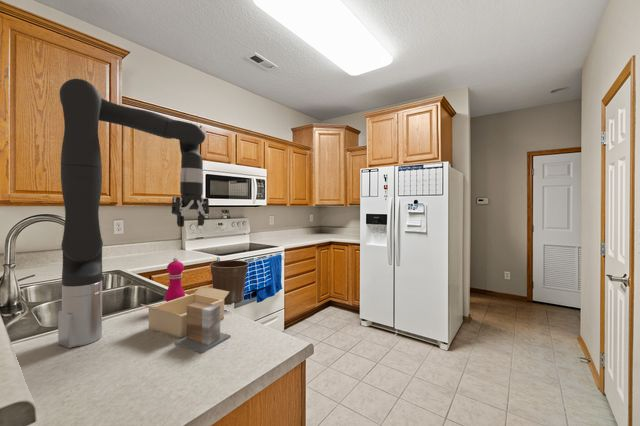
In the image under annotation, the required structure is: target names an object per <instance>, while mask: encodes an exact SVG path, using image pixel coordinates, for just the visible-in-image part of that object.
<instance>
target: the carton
mask: <svg viewBox="0 0 640 426" xmlns="http://www.w3.org/2000/svg"><path fill="white" fill-rule="evenodd" d="M228 293H229V291H224V290H219V289H213V287H206V286H203V285H202V286H201V285H200V287H199V288H198V289H196V291H195V292H194V293H191V294H188V295H185V296H184V297H181V298H178V299H174V300H171V301H168V302H166V301H165V302H162V303H159V304H156V305H150V306H149V305H146V304H143V303H140V306H143V307H145V308H148V329H149V330H152V331H153V332H158V333H161V334H164V335H167V336H169V337H174V338H176V339H178V340H180V339H183V338H185V337H186V332H187V305H190V304H192V303H195V302H198V301H200V302H205V303H210V304H214V305H219V306H220V321H222V320H224V319H225V315H224V314H225V305H224V299H225V297H226V296H227V295H228Z"/></svg>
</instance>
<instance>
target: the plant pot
mask: <svg viewBox="0 0 640 426" xmlns="http://www.w3.org/2000/svg"><path fill="white" fill-rule="evenodd" d="M208 265H209V266H210V274H211V279H212V288H213V289H219V290H224V291H229V293H228V295H227V296H226V297H225V299H224V306H232V304H234V305H235V304H236V305H237V304H239V303H242V302H243V300H244V295H245V294H244V293H245V286H246V278H247V273H248V268H249V265H250V263H249V262H248V261H246V260H245V261H243V260H236V259H235V260H234V259H232V260H231V259H229V260H227V259H226V260H217V261H212V262H211V263H209V264H208Z"/></svg>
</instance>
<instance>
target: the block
mask: <svg viewBox="0 0 640 426" xmlns="http://www.w3.org/2000/svg"><path fill="white" fill-rule="evenodd" d="M220 332H221V320H220V306H219V305H214V304H210V303H205V302H200V301H198V302H195V303H192V304H190V305H187V332H186V336H185V337H186V338H187V339H190V340H193V341H197V342H200V343H203V344H206V345H210V344H211V343H213V342H215V341H217V340H219V339H220Z"/></svg>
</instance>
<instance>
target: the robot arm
mask: <svg viewBox="0 0 640 426" xmlns="http://www.w3.org/2000/svg"><path fill="white" fill-rule="evenodd" d="M59 101H60V104H61V106H62V113H63V123H64V130H63V138H62V143H61V144H62V145H61V153H60V185H61V193H62V198H63V206H64V212H65V213H64V215H65V217H64V227H63V234H62V240H61V245H60V247H61V250H62V272H61V310H59V311H58V312H57V318H58V319H57V320H58V321H57V322H58V323H57V324H58V326H57V329H58V331H57V334H58V335H57V344H58V345H60V346H63V347H65V348H67V349H72V348H75V347H80V346H85V345H89V344H91V343H94V342H96V341H98V340H99V339H101V338H102V336H103V245H104V242H103V238H102V232H101V227H100V226H101V225H100V219H99V217H100V216H99V211H100V209H99V208H100V203H101V197H102V195H101V194H102V186H103V166H102V165H103V164H102V152H101V145H100V138H99V122H100V121H101V122H105V123H110V124H116V125H120V126H124V127H127V128H130V129H134V130H137V131H141V132H142V133H143V132H144V133H146V134H150V135H153V136H155V137H160V138H164V139H167V140H168V139H174V140H175V139H176V140H178V141H179V142H178V144H179V149H180V154H181V160H180V165H181V166H180V174H179V175H180V177H179V178H180V180H179V182H180V183H179V186H180V187H179V194H180V196H173V197H172V198H171V199H172V200H171V214H172V215H175V216H176V225H177V227H180V228H182V227H185V214H186V212H189V210H194V211H195V212H196V213H197V226H200V227H202V226H204V223H205V216H206V215H208V214H210V208H209V207H210V206H209V204H210V202H209V201H210V200H209V198H207V197H204V198H202V195H203V193H204V192H203V191H204V189H203V188H204V187H203V186H204V185H203V184H204V175H203V174H204V173H203V156H202V155H201V154H200V145H201V144H203V143H204V141H205V139H206V132H205V131H204V129H203V128H202V127H200V126H199V125H196V124H195V123H192V122H187V121H182V120H176V119H173V118H169V117H168V116H164V115H163V114H159V113H156V112H152V111H150V110H145V109H140V108H139V109H138V108H134V107H129V106H124V105H120V104H117V103H114V102H111V101H109V100H106V99H104V98H103V97H101V94H100V92H99V90H98V89H97V88H96V87H95V86H94V85H93V84H92V83H90V82H89V81H87V80H85V79H81V78H72V79H68V80H67V81H65V82H64V83H62V85H61V87H60V89H59Z"/></svg>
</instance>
